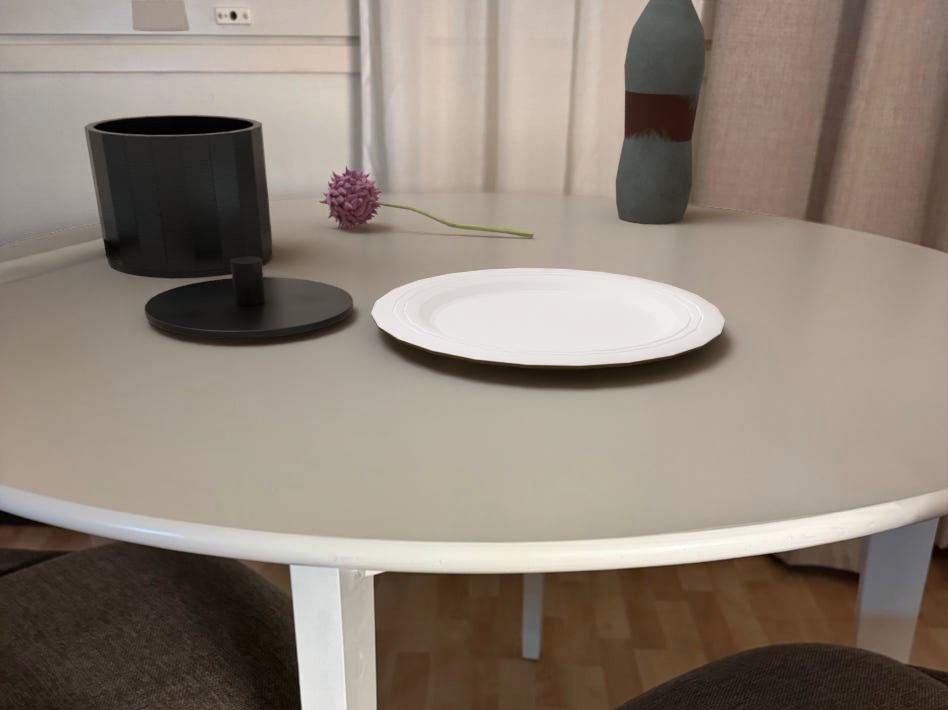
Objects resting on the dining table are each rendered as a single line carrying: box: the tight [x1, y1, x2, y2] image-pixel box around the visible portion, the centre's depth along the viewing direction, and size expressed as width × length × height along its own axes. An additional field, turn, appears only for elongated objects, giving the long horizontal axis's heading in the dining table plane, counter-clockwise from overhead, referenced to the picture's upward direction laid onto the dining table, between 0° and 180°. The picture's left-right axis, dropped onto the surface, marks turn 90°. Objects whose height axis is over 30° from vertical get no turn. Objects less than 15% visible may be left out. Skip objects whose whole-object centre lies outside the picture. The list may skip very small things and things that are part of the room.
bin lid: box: [144, 256, 354, 340], centre depth 91 cm, size 18×18×5 cm
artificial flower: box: [318, 165, 535, 239], centre depth 121 cm, size 7×7×25 cm
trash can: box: [83, 114, 274, 278], centre depth 107 cm, size 17×17×12 cm
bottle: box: [615, 0, 706, 225], centre depth 123 cm, size 9×9×30 cm
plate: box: [370, 267, 726, 371], centre depth 89 cm, size 29×29×2 cm
